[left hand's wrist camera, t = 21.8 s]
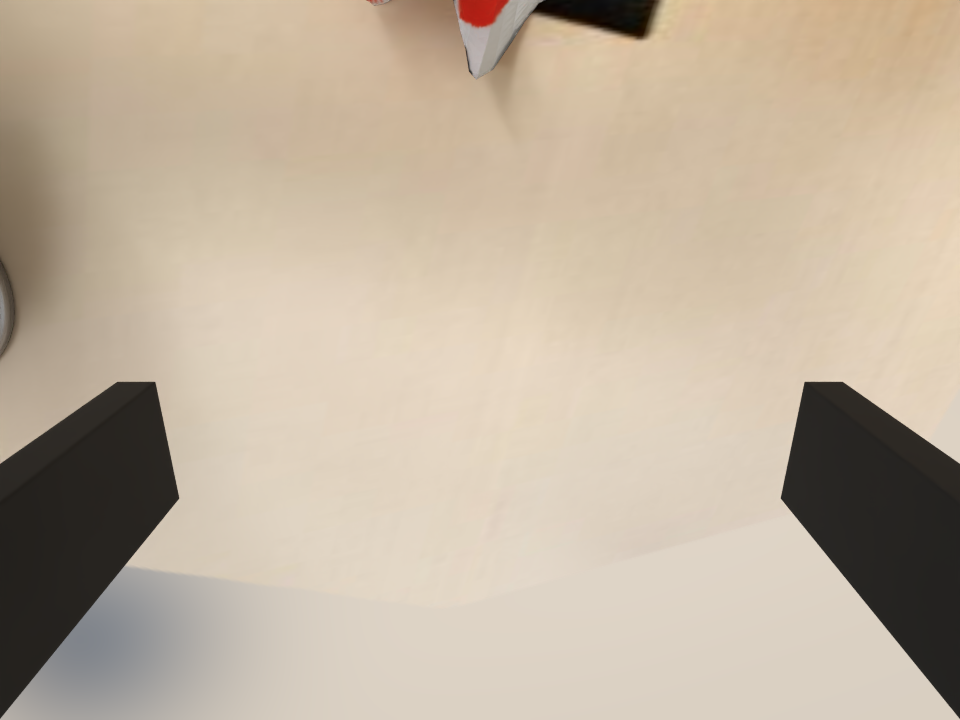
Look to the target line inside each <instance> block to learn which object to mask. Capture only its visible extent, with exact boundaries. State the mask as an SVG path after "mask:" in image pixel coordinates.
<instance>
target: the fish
mask: <svg viewBox="0 0 960 720" xmlns="http://www.w3.org/2000/svg"><path fill="white" fill-rule="evenodd" d="M367 1H369V2H370V3H372V4H373V5H381V4H385V3H386V2H388V1H390V0H367ZM453 1H454V5H455V9H456V13H457V17H458V22H459V26H460V31H461V35H462V38H463V42H464V45H465V48H466V54H467V61H468V68H469V72H470V73H471V74H472V75H473V76H474V78H475V79H478V78H479V77H481V76H483V75H484V74H486V73H488V72H490V71H491V70H493V69H494V67H495V66H496V64H497V63H498V61H499V60H500V58H501V57H502V56H503V54H504V53H505V51H506V50H507V48H508V47H509V45H510V44H511V42H512V41H513V39H514V38H515V36H516V34H517V33H518V31H519V30H520V28H521V27H522V25H523V23H524V22H525V21H526V19H527V18H528V17H529V15H530V14H531V13H532V11H533V10H534V9H535V8H536V6H537V5H538V4H539V3H540V2H542V1H544V0H453Z"/></svg>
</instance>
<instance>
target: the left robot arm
mask: <svg viewBox="0 0 960 720" xmlns="http://www.w3.org/2000/svg"><path fill="white" fill-rule="evenodd" d="M13 323H14V301H13V295H12V291H11V287H10V283H9V280H8V277H7V275H6V272H5V270H4V268H3V266H2V263H1V262H0V355H1V354H2V352H3V351H4V349H5V348H6V346H7V344H8V341H9V339H10V336H11V333H12V329H13ZM178 499H179V495H178V490H177V485H176V480H175V475H174V471H173V466H172V461H171V456H170V451H169V446H168V441H167V437H166V432H165V427H164V422H163V417H162V412H161V407H160V402H159V398H158V393H157V388H156V383H155V382H117V383H115V384H114V385H112V386H111V387H109V388H108V389H107V390H105V391H104V392H102V393H101V394H99V395H98V396H97V397H95V398H94V399H92V400H91V401H89V402H88V403H87V404H85V405H84V406H82V407H81V408H79V409H78V410H77V411H75V412H74V413H72V414H71V415H69V416H68V417H67V418H65V419H64V420H62V421H61V422H59V423H58V424H57V425H55V426H54V427H52V428H51V429H49V430H48V431H47V432H45V433H44V434H42V435H41V436H39V437H38V438H36V439H35V440H34V441H32V442H31V443H29V444H28V445H26V446H25V447H24V448H22V449H21V450H19V451H18V452H16V453H15V454H14V455H12V456H11V457H9V458H8V459H6V460H5V461H4V462H2V463H1V464H0V718H1V717H2V716H3V715H4V713H5V712H6V711H7V710H8V708H9V707H10V706H11V705H12V704H13V702H14V701H15V700H16V699H17V697H18V696H19V695H20V694H21V692H22V691H23V690H24V689H25V688H26V686H27V685H28V684H29V683H30V681H31V680H32V679H33V678H34V676H35V675H36V674H37V673H38V671H39V670H40V669H41V668H42V667H43V665H44V664H45V663H46V662H47V660H48V659H49V658H50V657H51V656H52V654H53V653H54V652H55V651H56V649H57V648H58V647H59V646H60V644H61V643H62V642H63V641H64V639H65V638H66V637H67V636H68V635H69V633H70V632H71V631H72V630H73V628H74V627H75V626H76V625H77V624H78V622H79V621H80V620H81V619H82V617H83V616H84V615H85V614H86V612H87V611H88V610H89V609H90V608H91V606H92V605H93V604H94V603H95V601H96V600H97V599H98V598H99V596H100V595H101V594H102V593H103V592H104V590H105V589H106V588H107V587H108V585H109V584H110V583H111V582H112V581H113V579H114V578H115V577H116V576H117V574H118V573H119V572H120V571H121V569H122V568H123V567H124V566H125V565H126V563H127V562H128V561H129V560H130V558H131V557H132V556H133V555H134V553H135V552H136V551H137V550H138V549H139V547H140V546H141V545H142V544H143V542H144V541H145V540H146V539H147V537H148V536H149V535H150V534H151V533H152V531H153V530H154V529H155V528H156V526H157V525H158V524H159V523H160V521H161V520H162V519H163V518H164V517H165V515H166V514H167V513H168V512H169V510H170V509H171V508H172V507H173V505H174V504H175V503H176V502H177V501H178ZM781 499H782V501H783V502H784V503H785V504H786V505H787V507H788V508H789V509H790V510H791V512H792V513H793V514H794V515H795V517H796V518H797V519H798V520H799V521H800V523H801V524H802V525H803V526H804V528H805V529H806V530H807V531H808V533H809V534H810V535H811V536H812V537H813V539H814V540H815V541H816V542H817V544H818V545H819V546H820V547H821V549H822V550H823V551H824V552H825V553H826V555H827V556H828V557H829V558H830V560H831V561H832V562H833V563H834V564H835V566H836V567H837V568H838V569H839V571H840V572H841V573H842V574H843V576H844V577H845V578H846V579H847V581H848V582H849V583H850V584H851V585H852V587H853V588H854V589H855V590H856V592H857V593H858V594H859V595H860V596H861V598H862V599H863V600H864V601H865V603H866V604H867V605H868V606H869V608H870V609H871V610H872V611H873V612H874V614H875V615H876V616H877V617H878V619H879V620H880V621H881V622H882V623H883V625H884V626H885V627H886V628H887V630H888V631H889V632H890V633H891V635H892V636H893V637H894V638H895V640H896V641H897V642H898V643H899V644H900V646H901V647H902V648H903V649H904V651H905V652H906V653H907V654H908V656H909V657H910V658H911V659H912V660H913V662H914V663H915V664H916V665H917V667H918V668H919V669H920V670H921V672H922V673H923V674H924V675H925V676H926V678H927V679H928V680H929V681H930V683H931V684H932V685H933V686H934V688H935V689H936V690H937V691H938V692H939V694H940V695H941V696H942V697H943V699H944V700H945V701H946V702H947V704H948V705H949V706H950V707H951V708H952V710H953V711H954V712H955V713H956V715H957V716H958V717H959V718H960V464H959V463H958V462H956V461H955V460H954V459H952V458H951V457H949V456H948V455H946V454H945V453H944V452H942V451H941V450H939V449H938V448H936V447H935V446H934V445H932V444H931V443H929V442H928V441H926V440H925V439H924V438H922V437H921V436H919V435H918V434H916V433H915V432H913V431H912V430H911V429H909V428H908V427H906V426H905V425H903V424H902V423H901V422H899V421H898V420H896V419H895V418H893V417H892V416H891V415H889V414H888V413H886V412H885V411H883V410H882V409H881V408H879V407H878V406H876V405H875V404H873V403H872V402H871V401H869V400H868V399H866V398H865V397H863V396H862V395H861V394H859V393H858V392H856V391H855V390H853V389H852V388H851V387H849V386H848V385H846V384H845V383H843V382H805V383H804V388H803V393H802V398H801V402H800V407H799V412H798V417H797V422H796V427H795V432H794V437H793V441H792V446H791V451H790V456H789V461H788V466H787V471H786V475H785V480H784V485H783V490H782V495H781Z"/></svg>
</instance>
